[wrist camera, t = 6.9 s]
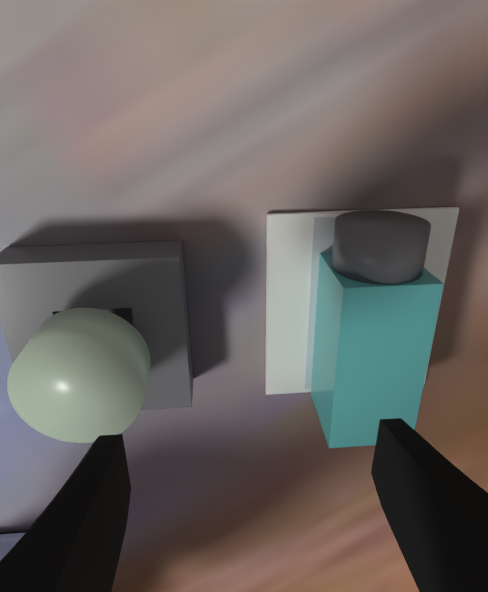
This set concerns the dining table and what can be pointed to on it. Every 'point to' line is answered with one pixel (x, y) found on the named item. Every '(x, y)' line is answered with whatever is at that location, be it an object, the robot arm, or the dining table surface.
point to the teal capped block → (372, 325)
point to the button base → (107, 301)
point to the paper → (304, 282)
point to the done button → (80, 376)
